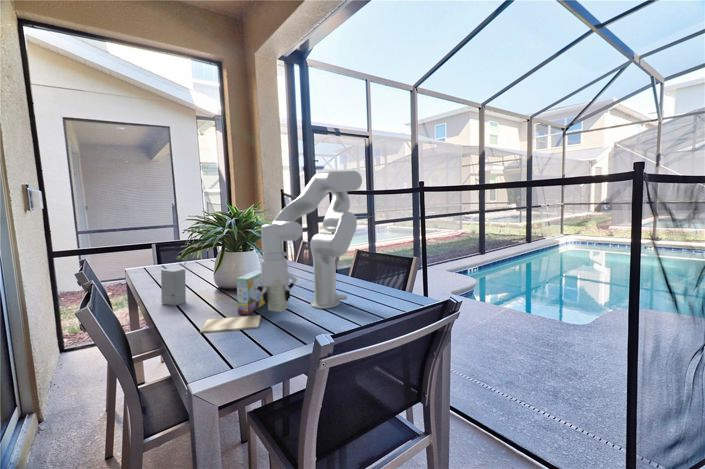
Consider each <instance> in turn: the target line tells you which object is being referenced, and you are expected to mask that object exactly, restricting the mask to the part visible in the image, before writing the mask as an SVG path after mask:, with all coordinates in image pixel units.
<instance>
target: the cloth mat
mask: <svg viewBox="0 0 705 469" xmlns="http://www.w3.org/2000/svg"><path fill="white" fill-rule="evenodd" d="M261 317H262V315H260V314H258V315H246V316H234V317H222V318H212V319H210V318H207V320H206V322H205V323H204V324H203V326H202V328H200V330H199V333H200V334H205V333H216V332H226V331H227V332H228V331H238V330H249V329H259V328H260V322H261Z"/></svg>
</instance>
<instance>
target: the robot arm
mask: <svg viewBox="0 0 705 469" xmlns="http://www.w3.org/2000/svg"><path fill="white" fill-rule="evenodd" d="M362 184H363V177H362V175H361V174H360V173H359V172H358V171H356V170H345V171H343V170H342V171H341V170H340V171H339V170H335V171H334V170H333V171H330V170H329V171H322V172H321V171H320V172H318V173H317V172H316V173H315V174H314V175H313V176H312V177H311V179H310V181H309V182H308V183H307V184H306V186H305V188H304V189H303V190H302V191H301V193H300V194H299V196H298V197H297V198H296V199H294V200H292V201H291V202H290V203H288V204H287V205H286V206H285V207H284V208H282V209H281V211H280V212H279V213H278V214H277V215H276V217H275V218H274V219H273V221H272V223H266V224H265V223H264V224H262V225H261V226H260V233H261V234H260V236H261V247H262V260H261V263H260V264H261V266H260V268H261V277H260V278H258V279H257V280H256V281H255V282H254V284H253V285H254V286H255V287H256V288H257V289H258V290H259V291H261V292H262V293H263V301H265V304H268V300H267V292H266V289H267V287H271V286H273V284H274V281H276V280H280V281H281V285H284V286H285V289H286V299H287V302H289V299H291V294H290V293H291V292H290V291H291V289H292V288H293V287H295V286H294V285H295V284H296V283H297V282H298V279H297V277H295V276H293V275H292V274H290V273H289V267H288V262H287V259H286V258H285V257H287V256H288V252H287V251H284V247H283V246H284V243H283V242H292V241H293V242H294V241H297V240H299V239H300V238H301V237H302V236H303V232H304V231H303V230H304V229H303V227H302V225H301V224H300V223H299V222H296V220H297V219H299V218H301V217H302V216H305V215H308V214H310V213H312V212H315V210H316V209H317V208H318V207H319V205H320V204H321V202H322V201H323V199H324V198H325V196H326V195H327V193H331V201H330V205H329V207H328V209H327V211H326V214H325V215H324V218H323V221H322V227H323V229H324V230H325V231H327V232H319V233H317V232H316V234H314V235H313V236H312V237H311V239H310V244H309V245H310V251H311V255H312V262H313V263H312V264H313V265H312V266H313V267H312V268H313V294H314V298H313V299H312V300H311V302H310V305H311V307H313V308H316V309H322V310H324V309H333V308H337V307H338V306H339V305H341V303H340V302H341V300H344V301H346V300H347V299H348V296H347V294H345V295H344V294H342V293H341V294H338V292H337V286H336V285H337V283H336V281H337V280H336V278H337V277H336V274H337V273H336V261H335V257H336V258H341V257H343V256H344V255H345V254H347V252H348V250H349V248H350V245H351V243H352V241H353V238H354V235H355V233H356V230H357V225H358V220H357V217H356V215H355V213H354V212H351V211H349V210H350V206H351V200H350V197H349V194H348V192H353V191H356V190H359V188H361V187H362ZM290 280H291V282H289V281H290ZM261 281H262V286H264V287H261V286H260V285H259V284H258V283H259V282H261ZM265 304H264V305H265Z"/></svg>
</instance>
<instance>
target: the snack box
mask: <svg viewBox="0 0 705 469" xmlns="http://www.w3.org/2000/svg"><path fill="white" fill-rule="evenodd" d="M260 277H261V267H260V268H257V269H255V270H253V271H251V272H249V273H246V274H244V275H242V276H240V277H237V278H236V291H237V292H236V295H237V297H236V299H237V300H236V301H237V314H239V315H250V314H252V313H253V312H255V311H256V310H257V309H259V308H261V307H262V306H264V305H265V301H263V293H262V292H261V291H259V290H258V289H257V288H256V287H255V286H254V285H253V284H254V282H255V281H256V280H257V279H258V278H260ZM258 284H259V285H260V286H261V287H264V286H262V281H261V282H259V283H258ZM266 292H267V291H266Z"/></svg>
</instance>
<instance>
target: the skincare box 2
mask: <svg viewBox="0 0 705 469" xmlns="http://www.w3.org/2000/svg"><path fill="white" fill-rule="evenodd" d="M266 291H267V300H268V302H267V306H268V308H267V309H268V311H269V312H270V311H271V312H280V313H282V312H283V311H285V310H287V309H288V301H287V299H286V288H285V286H284V285H281V281H280V280H276V281H274V284H273V286H271V287H267V289H266Z"/></svg>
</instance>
